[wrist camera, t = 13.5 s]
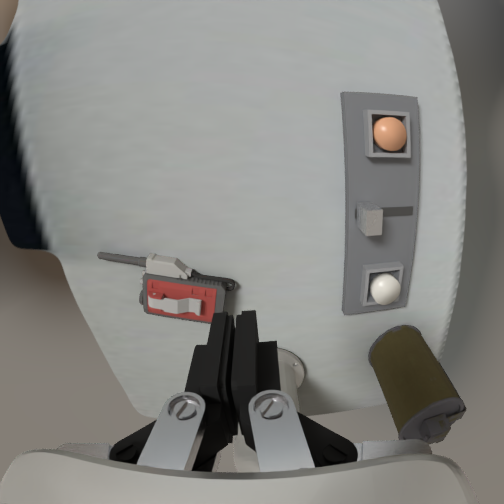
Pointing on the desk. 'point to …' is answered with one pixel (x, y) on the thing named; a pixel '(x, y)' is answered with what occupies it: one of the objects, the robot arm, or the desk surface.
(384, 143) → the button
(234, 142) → the desk surface
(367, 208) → the lever
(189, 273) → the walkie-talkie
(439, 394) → the canister
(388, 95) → the panel
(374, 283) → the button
